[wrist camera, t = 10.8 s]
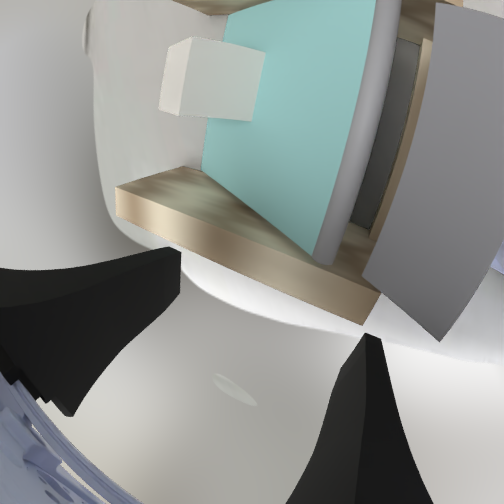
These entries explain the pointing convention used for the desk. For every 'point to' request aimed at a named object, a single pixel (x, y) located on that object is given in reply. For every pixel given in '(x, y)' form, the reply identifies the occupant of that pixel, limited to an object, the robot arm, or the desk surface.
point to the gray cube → (211, 79)
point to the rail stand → (258, 228)
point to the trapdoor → (362, 139)
